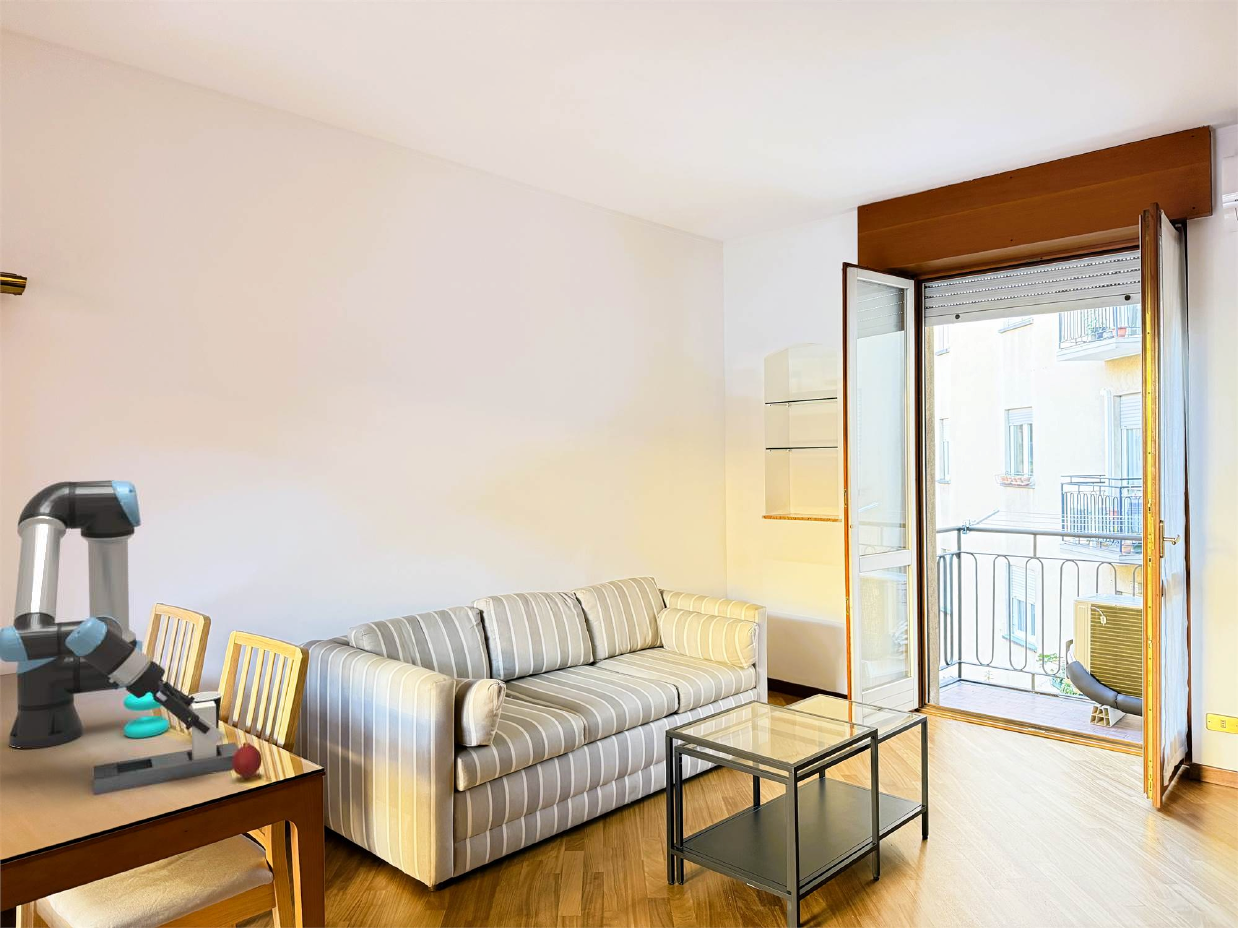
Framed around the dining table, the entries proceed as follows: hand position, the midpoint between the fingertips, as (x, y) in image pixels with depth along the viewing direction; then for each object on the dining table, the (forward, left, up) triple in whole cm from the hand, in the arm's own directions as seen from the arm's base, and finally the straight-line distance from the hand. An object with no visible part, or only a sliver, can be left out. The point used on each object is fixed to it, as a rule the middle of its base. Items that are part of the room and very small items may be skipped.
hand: (215, 731), depth 190 cm
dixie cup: (-9, +19, -8) cm, 22 cm away
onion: (+9, -10, -8) cm, 16 cm away
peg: (-2, -1, -8) cm, 8 cm away
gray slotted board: (-9, -4, -8) cm, 12 cm away
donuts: (-26, +28, -8) cm, 39 cm away
